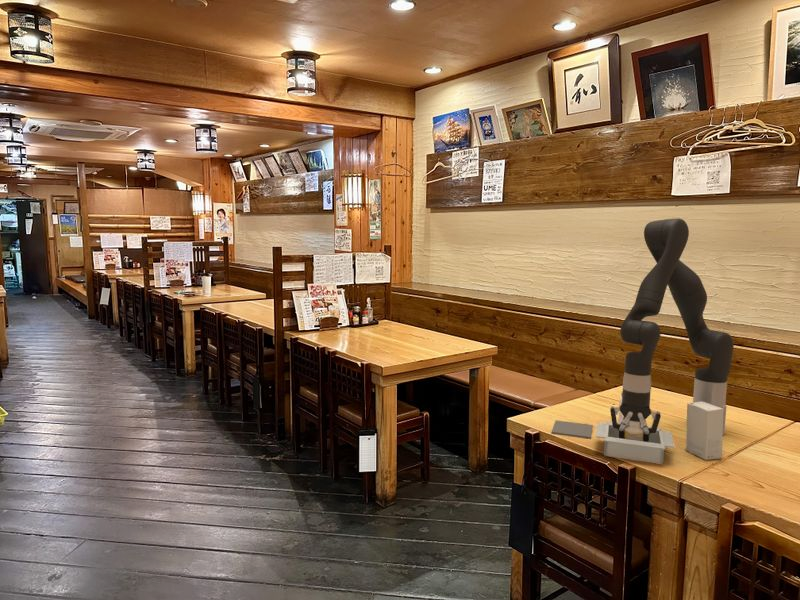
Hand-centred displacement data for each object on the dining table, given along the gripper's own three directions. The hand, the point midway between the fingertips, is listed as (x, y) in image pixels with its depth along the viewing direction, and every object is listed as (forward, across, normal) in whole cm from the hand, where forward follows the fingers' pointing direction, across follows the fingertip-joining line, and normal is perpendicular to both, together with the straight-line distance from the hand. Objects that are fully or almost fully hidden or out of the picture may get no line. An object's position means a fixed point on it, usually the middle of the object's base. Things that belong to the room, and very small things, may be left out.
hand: (633, 443), depth 164 cm
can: (+3, +1, -19) cm, 19 cm away
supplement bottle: (+3, 0, 0) cm, 3 cm away
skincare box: (+3, -19, -6) cm, 20 cm away
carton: (+3, 0, 0) cm, 3 cm away
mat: (+3, +18, -12) cm, 22 cm away
